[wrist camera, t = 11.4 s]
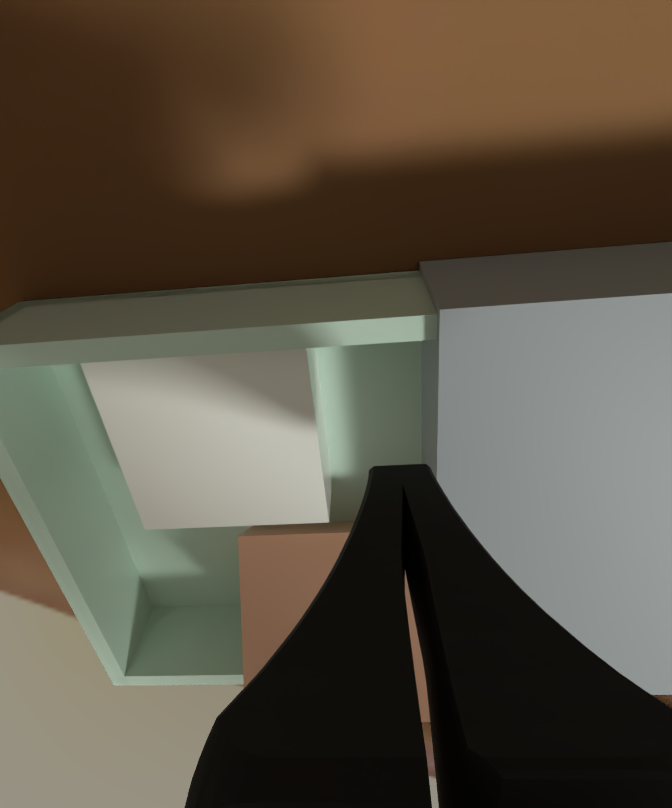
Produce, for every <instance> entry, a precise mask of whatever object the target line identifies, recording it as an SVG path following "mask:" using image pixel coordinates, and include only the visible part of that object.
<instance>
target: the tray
mask: <svg viewBox="0 0 672 808" xmlns="http://www.w3.org/2000/svg"><path fill="white" fill-rule="evenodd" d="M424 340H437V313H436V311H435V308H434V306H433V303H432V301H431V298H430V296H429V293H428V291H427V288H426V286H425V283H424V281H423V278H422V276H421V273H420V271H406V272H393V273H380V274H368V275H355V276H342V277H329V278H316V279H303V280H290V281H277V282H264V283H252V284H239V285H226V286H213V287H200V288H187V289H174V290H161V291H148V292H136V293H123V294H110V295H97V296H84V297H71V298H58V299H45V300H32V301H20V302H18V303H16V304H14V305H12V306H10V307H9V308H7V309H5V310H3V311H1V312H0V479H1V480H2V482H3V484H4V486H5V488H6V490H7V491H8V493H9V495H10V497H11V499H12V500H13V502H14V504H15V506H16V508H17V510H18V511H19V513H20V515H21V517H22V519H23V521H24V522H25V524H26V526H27V528H28V530H29V531H30V533H31V535H32V537H33V539H34V541H35V542H36V544H37V546H38V548H39V550H40V552H41V553H42V555H43V557H44V559H45V561H46V562H47V564H48V566H49V568H50V570H51V572H52V573H53V575H54V577H55V579H56V581H57V583H58V584H59V586H60V588H61V590H62V592H63V593H64V595H65V597H66V599H67V601H68V603H69V604H70V606H71V608H72V610H73V612H74V613H75V615H76V617H77V619H78V621H79V623H80V624H81V626H82V628H83V630H84V632H85V633H86V635H87V637H88V639H89V641H90V643H91V644H92V646H93V648H94V650H95V651H96V654H97V655H98V657H99V659H100V661H101V663H102V664H103V666H104V668H105V670H106V672H107V673H108V675H109V677H110V679H111V681H112V683H113V685H114V686H140V685H216V684H218V685H221V684H244V679H243V653H242V628H241V602H240V576H239V550H238V536H239V535H240V534H242V533H243V532H244V531H246V530H247V529H248V528H250V527H251V526H229V527H203V528H178V529H153V530H145V529H144V526H143V524H142V521H141V519H140V516H139V513H138V511H137V508H136V506H135V503H134V501H133V498H132V495H131V493H130V490H129V488H128V485H127V483H126V480H125V477H124V475H123V472H122V470H121V467H120V465H119V462H118V459H117V457H116V454H115V452H114V449H113V447H112V444H111V441H110V439H109V436H108V434H107V431H106V429H105V426H104V423H103V421H102V418H101V416H100V413H99V411H98V408H97V405H96V403H95V400H94V398H93V395H92V393H91V390H90V387H89V385H88V382H87V380H86V377H85V375H84V372H83V369H82V367H81V364H80V363H93V362H108V361H123V360H138V359H153V358H168V357H183V356H198V355H213V354H228V353H244V352H259V351H274V350H289V349H304V348H316V354H317V362H318V370H319V378H320V387H321V395H322V403H323V412H324V420H325V428H326V436H327V445H328V453H329V461H330V470H331V478H332V488H331V502H330V516H329V522H347V521H355V519H356V516H357V514H358V511H359V509H360V506H361V503H362V500H363V497H364V493H365V490H366V486H367V481H368V476H369V470H370V469H371V468H372V467H373V466H386V465H407V464H422V341H424Z"/></svg>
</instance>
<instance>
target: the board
mask: <svg viewBox="0 0 672 808" xmlns="http://www.w3.org/2000/svg"><path fill="white" fill-rule="evenodd" d="M419 271H420V273H421V276H422V278H423V281H424V283H425V286H426V288H427V291H428V293H429V296H430V298H431V301H432V303H433V306H434V308H435V311H436V313H437V340H424V341H422V464H427V465H428V466H429V467H430V468H431V470H432V472H433V474H434V476H435V478H436V480H437V481H438V483H439V485H440V487H441V488H442V490H443V492H444V493H445V495H446V496H447V498H448V499H449V501H450V503H451V504H452V506H453V507H454V508H455V510H456V511H457V513H458V514H459V515H460V517H461V518H462V520H463V521H464V522H465V524H466V525H467V526H468V528H469V529H470V531H471V532H472V533H473V534H474V536H475V537H476V538H477V539H478V541H479V542H480V543H481V544H482V546H483V547H484V548H485V549H486V550H487V552H488V553H489V554H490V555H491V556H492V558H493V559H494V560H495V561H496V562H497V563H498V564H499V566H500V567H501V568H502V569H503V570H504V571H505V572H506V573H507V574H508V575H509V576H510V577H511V578H512V579H513V580H514V582H515V583H516V584H517V585H518V586H519V587H520V588H521V589H522V590H523V591H524V592H525V593H526V594H527V595H528V596H529V597H530V598H532V599H533V600H534V601H535V602H536V603H537V604H538V605H539V606H540V607H541V608H542V609H543V610H544V611H545V612H546V613H547V614H549V615H550V616H551V617H552V618H553V619H554V620H556V621H557V622H558V623H559V624H560V625H561V626H563V627H564V628H565V629H566V630H567V631H568V632H569V633H571V634H572V635H573V636H574V637H575V638H576V639H578V640H579V641H580V642H581V643H582V644H583V645H585V646H586V647H587V648H588V649H589V650H591V651H592V652H593V653H595V654H596V655H597V656H598V657H600V658H601V659H602V660H604V661H605V662H606V663H607V664H609V665H610V666H611V667H613V668H614V669H615V670H616V671H618V672H619V673H620V674H622V675H623V676H625V677H626V678H628V679H629V680H630V681H632V682H633V683H635V684H636V685H638V686H639V687H641V688H642V689H643V690H645V691H646V692H648V693H649V694H651V695H672V242H661V243H649V244H636V245H623V246H611V247H598V248H585V249H573V250H560V251H547V252H535V253H522V254H509V255H497V256H484V257H471V258H459V259H446V260H433V261H421V262H419Z"/></svg>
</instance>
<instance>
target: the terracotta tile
mask: <svg viewBox="0 0 672 808" xmlns="http://www.w3.org/2000/svg"><path fill="white" fill-rule="evenodd" d="M353 524H354V521H347V522H329V523H304V524H279V525H254V526H251V527H250V528H248V529H247V530H246V531H244V532H243V533H242V534H240V535H239V536H238V550H239V576H240V602H241V628H242V653H243V679H244V688H245V687H246V686H247V685H248V684H249V682H250V681H251V680H252V679H253V678H254V677H255V676H256V675H257V674H258V672H259V671H260V670H261V669H262V668H263V667H264V665H265V664H266V663H267V662H268V660H269V659H270V658H271V657H272V655H273V654H274V653H275V652H276V650H277V649H278V648H279V647H280V645H281V644H282V643H283V642H284V640H285V639H286V638H287V637H288V635H289V634H290V633H291V631H292V630H293V629H294V627H295V626H296V625H297V623H298V622H299V620H300V619H301V618H302V616H303V615H304V613H305V612H306V610H307V609H308V607H309V606H310V604H311V603H312V601H313V600H314V598H315V597H316V595H317V594H318V592H319V590H320V589H321V587H322V585H323V584H324V582H325V580H326V579H327V577H328V575H329V573H330V572H331V570H332V568H333V566H334V564H335V562H336V561H337V559H338V557H339V555H340V552H341V550H342V548H343V546H344V544H345V542H346V540H347V538H348V536H349V534H350V531H351V529H352V527H353ZM405 598H406V606H407V615H408V623H409V631H410V639H411V647H412V655H413V663H414V671H415V679H416V686H417V693H418V700H419V708H420V715H421V722H430V714H429V705H428V696H427V686H426V678H425V672H424V666H423V659H422V654H421V649H420V644H419V639H418V634H417V629H416V624H415V619H414V614H413V608H412V603H411V598H410V593H409V588H408V583H407V577H406V572H405Z"/></svg>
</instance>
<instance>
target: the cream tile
mask: <svg viewBox="0 0 672 808" xmlns="http://www.w3.org/2000/svg"><path fill="white" fill-rule="evenodd" d="M80 364H81V367H82V369H83V372H84V375H85V377H86V380H87V382H88V385H89V387H90V390H91V393H92V395H93V398H94V400H95V403H96V405H97V408H98V411H99V413H100V416H101V418H102V421H103V423H104V426H105V429H106V431H107V434H108V436H109V439H110V441H111V444H112V447H113V449H114V452H115V454H116V457H117V459H118V462H119V465H120V467H121V470H122V472H123V475H124V477H125V480H126V483H127V485H128V488H129V490H130V493H131V495H132V498H133V501H134V503H135V506H136V508H137V511H138V513H139V516H140V519H141V521H142V524H143V526H144V529H145V530H153V529H178V528H203V527H229V526H254V525H279V524H304V523H329V516H330V502H331V488H332V478H331V470H330V461H329V453H328V445H327V436H326V428H325V420H324V412H323V403H322V395H321V387H320V378H319V370H318V362H317V354H316V348H304V349H289V350H274V351H259V352H244V353H228V354H213V355H198V356H183V357H168V358H153V359H138V360H123V361H108V362H93V363H80Z"/></svg>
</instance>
